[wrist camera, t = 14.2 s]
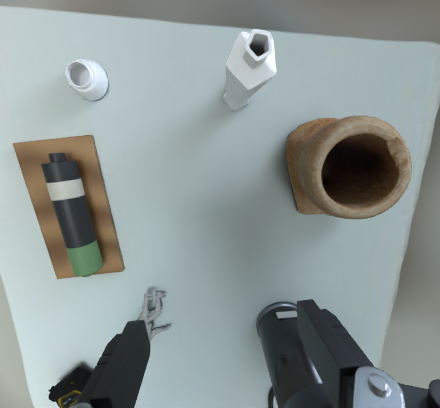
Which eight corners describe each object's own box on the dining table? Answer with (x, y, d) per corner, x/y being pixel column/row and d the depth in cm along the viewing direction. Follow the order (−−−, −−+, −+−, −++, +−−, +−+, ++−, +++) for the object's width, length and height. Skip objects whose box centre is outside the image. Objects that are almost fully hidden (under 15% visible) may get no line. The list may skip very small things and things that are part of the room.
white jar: (115, 74, 29) (80, 53, 29) (104, 66, 26) (65, 42, 26) (100, 108, 30) (66, 88, 29) (89, 103, 27) (51, 81, 27)
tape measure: (82, 359, 40) (70, 379, 37) (108, 380, 42) (99, 401, 38) (57, 377, 41) (42, 399, 37) (84, 397, 42) (72, 420, 39)
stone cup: (265, 133, 32) (311, 116, 17) (342, 113, 32) (453, 79, 17) (283, 224, 36) (332, 274, 21) (352, 207, 35) (450, 245, 21)
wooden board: (124, 268, 36) (122, 271, 36) (60, 276, 36) (57, 279, 35) (92, 135, 31) (89, 134, 30) (17, 143, 31) (12, 143, 30)
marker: (35, 155, 29) (39, 153, 26) (70, 153, 32) (77, 150, 29) (72, 274, 33) (78, 283, 30) (99, 263, 36) (108, 270, 33)
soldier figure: (179, 292, 39) (167, 360, 38) (163, 284, 42) (152, 347, 41) (141, 299, 33) (126, 381, 32) (126, 289, 36) (111, 363, 35)
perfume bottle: (218, 111, 31) (225, 74, 16) (222, 78, 30) (233, 8, 15) (249, 116, 31) (282, 83, 17) (254, 83, 30) (294, 19, 16)
